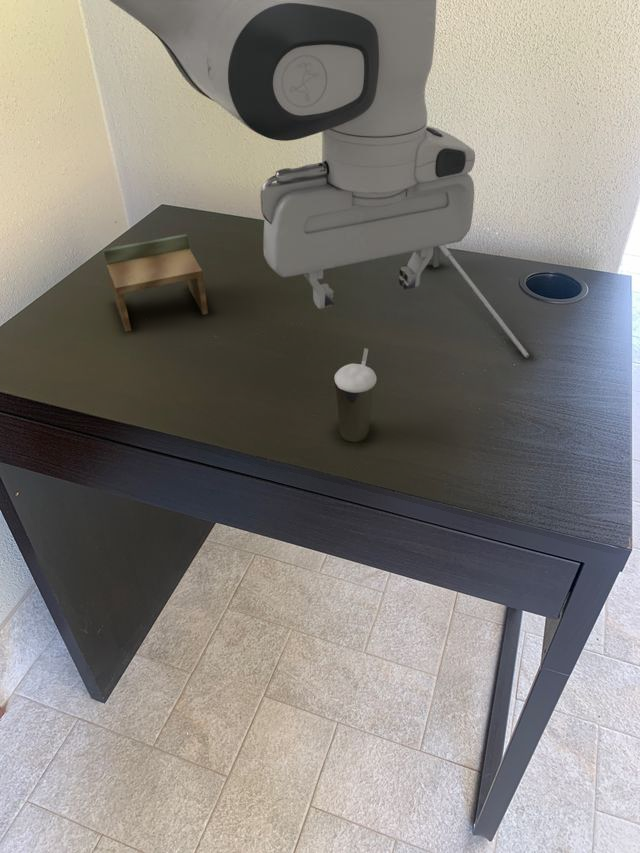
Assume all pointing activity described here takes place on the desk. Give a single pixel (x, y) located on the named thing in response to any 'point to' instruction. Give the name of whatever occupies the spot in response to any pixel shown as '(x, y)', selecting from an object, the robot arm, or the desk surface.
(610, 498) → the desk surface
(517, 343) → the brush
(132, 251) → the bench
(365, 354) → the milkshake
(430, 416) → the desk surface
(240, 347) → the desk surface
